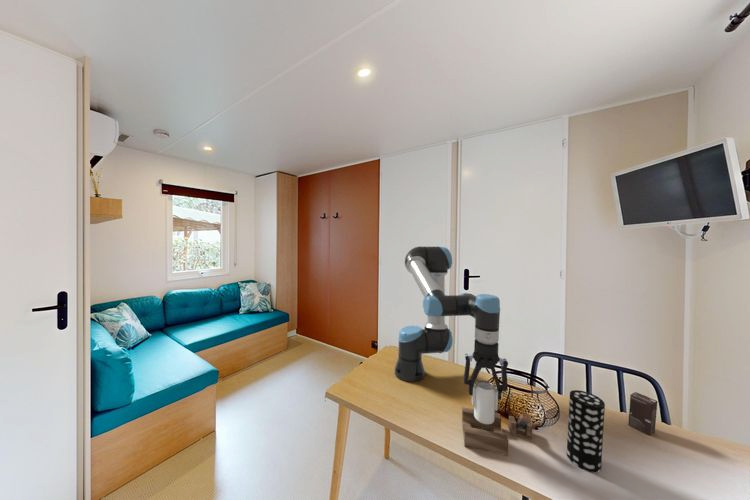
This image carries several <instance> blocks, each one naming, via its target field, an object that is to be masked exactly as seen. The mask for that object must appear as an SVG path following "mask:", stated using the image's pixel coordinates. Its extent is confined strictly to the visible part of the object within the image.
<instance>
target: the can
mask: <svg viewBox="0 0 750 500" xmlns="http://www.w3.org/2000/svg"><path fill="white" fill-rule="evenodd" d="M475 383H476V384H475V407H473V409H474V417H475V418H476V420H477V421H478V422H480V423H482V424H486V425H489V424H492V423H493V422H494V414H495V413H496V410H495V390H494V387H495V386H494V384H493V383H491V382H489V381H487V380H482V379H481V380H480V379H479V380H476V381H475Z"/></svg>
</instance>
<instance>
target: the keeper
mask: <svg viewBox="0 0 750 500" xmlns="http://www.w3.org/2000/svg"><path fill="white" fill-rule="evenodd" d="M531 421H532V416H531V414H530V413H523V412H522V413H521V414H520V415H519V418H518V419H517V421H516V428H518V429H523V430H525V427H526V425H527V424H528V423H529V422H531Z"/></svg>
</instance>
